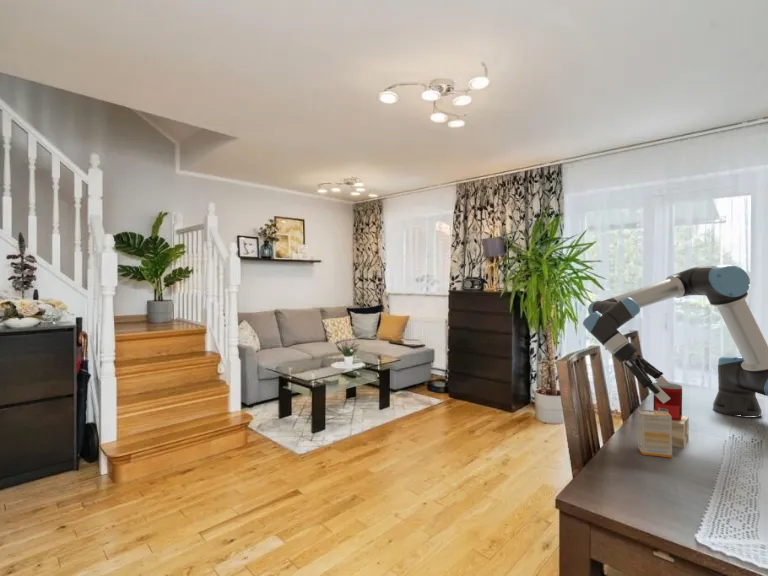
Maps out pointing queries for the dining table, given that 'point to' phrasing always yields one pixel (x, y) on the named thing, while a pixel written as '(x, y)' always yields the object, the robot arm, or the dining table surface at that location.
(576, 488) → the dining table surface
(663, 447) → the supplement box
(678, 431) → the beech block
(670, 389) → the canned food
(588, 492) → the dining table surface
